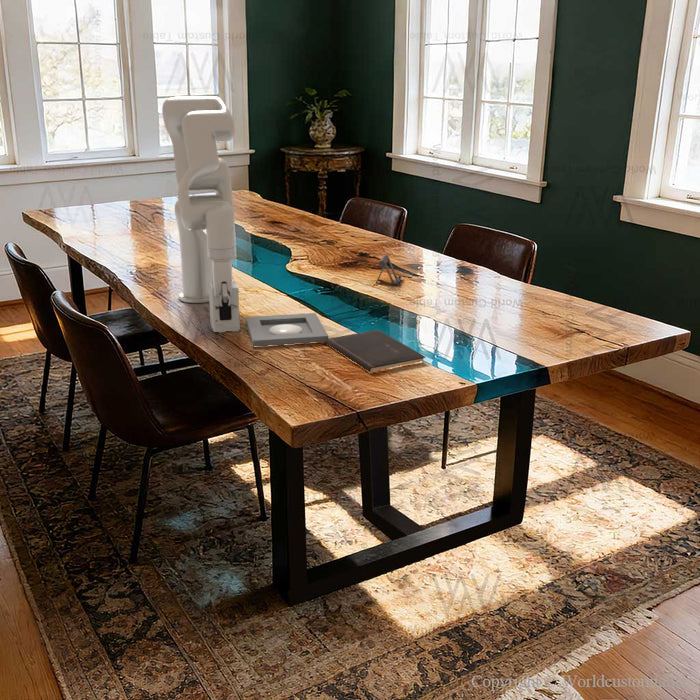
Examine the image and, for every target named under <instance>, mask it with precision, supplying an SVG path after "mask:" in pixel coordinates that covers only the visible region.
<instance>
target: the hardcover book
mask: <svg viewBox="0 0 700 700" xmlns="http://www.w3.org/2000/svg"><path fill="white" fill-rule="evenodd" d="M326 344H328V345H330V346H331V347H333V348H334V349H336V350H337V351H339V352H340V353H342V354H343V355H345V356H346V357H348V358H349V359H351V360H352V361H354V362H356V363H357V364H359V365H360V366H362V367H363V368H364V369H366V370H368V371H369V372H371V371H376V370H380V369H385V368H390V367H395V366H400V365H404V364H410V363H415V362H420V361H423V362H424V359H426V356H425V355H423V354H422V353H420V352H418V351H416V350H415V349H413V348H411V347H409V346H408V345H406V344H404V343H402V342H400V341H399V340H396V339H395V338H393V337H391V336H390V335H388V334H386V333H384V332H383V331H381V330H379V329H376V330H370V331H369V330H368V331H364V332H358V333H352V334H347V335H342V336H336V337H330V338H329V337H328V339H327V341H326V343H325V345H326Z"/></svg>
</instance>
